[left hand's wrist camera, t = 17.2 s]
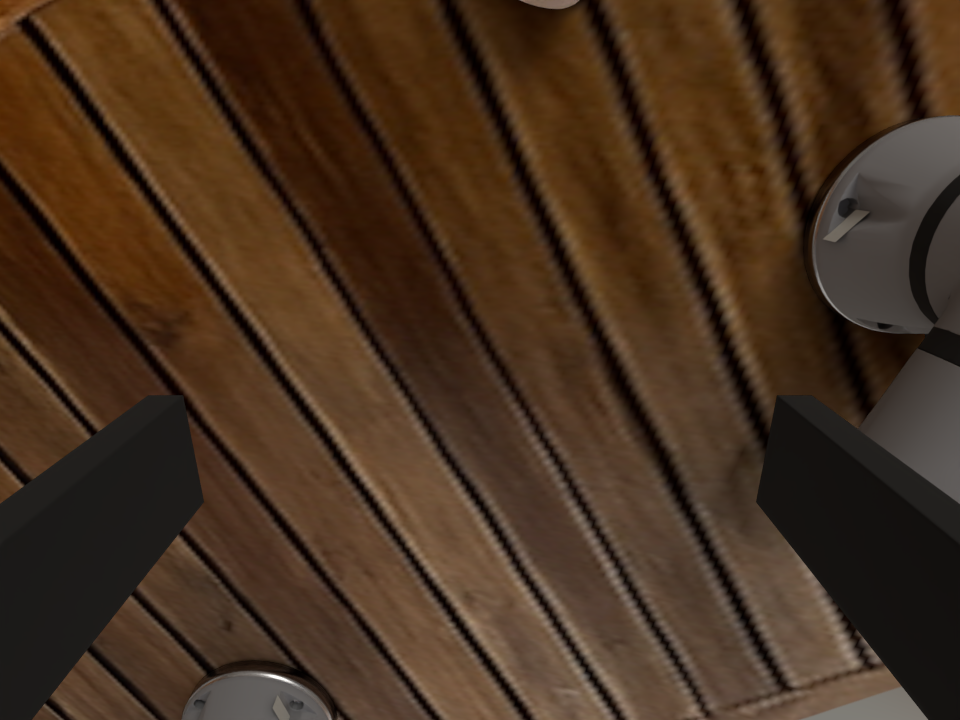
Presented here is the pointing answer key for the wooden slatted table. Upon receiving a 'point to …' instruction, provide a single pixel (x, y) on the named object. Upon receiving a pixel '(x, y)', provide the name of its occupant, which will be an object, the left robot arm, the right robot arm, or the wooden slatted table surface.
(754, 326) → the wooden slatted table surface
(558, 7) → the anatomical model
